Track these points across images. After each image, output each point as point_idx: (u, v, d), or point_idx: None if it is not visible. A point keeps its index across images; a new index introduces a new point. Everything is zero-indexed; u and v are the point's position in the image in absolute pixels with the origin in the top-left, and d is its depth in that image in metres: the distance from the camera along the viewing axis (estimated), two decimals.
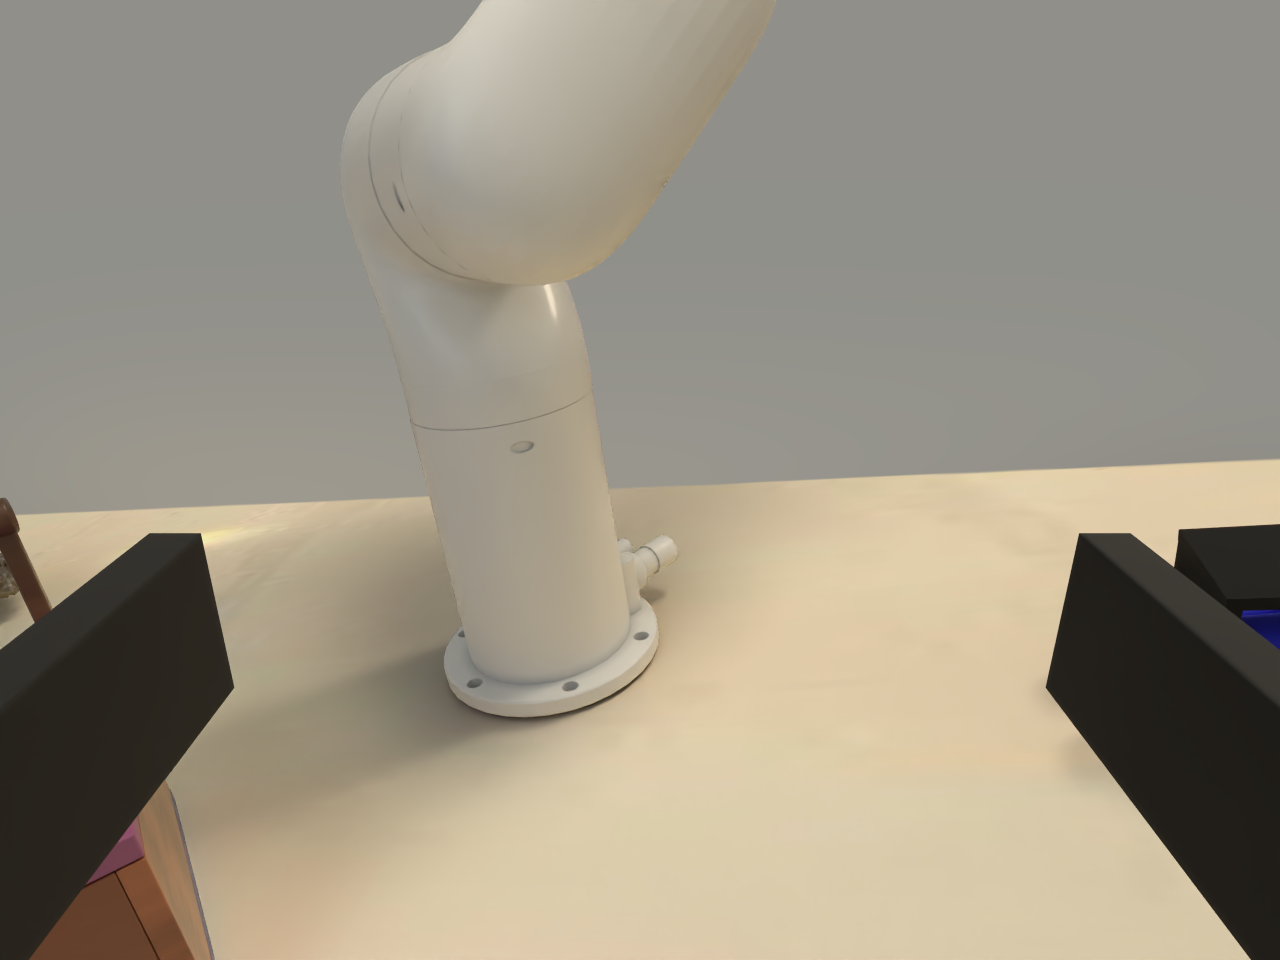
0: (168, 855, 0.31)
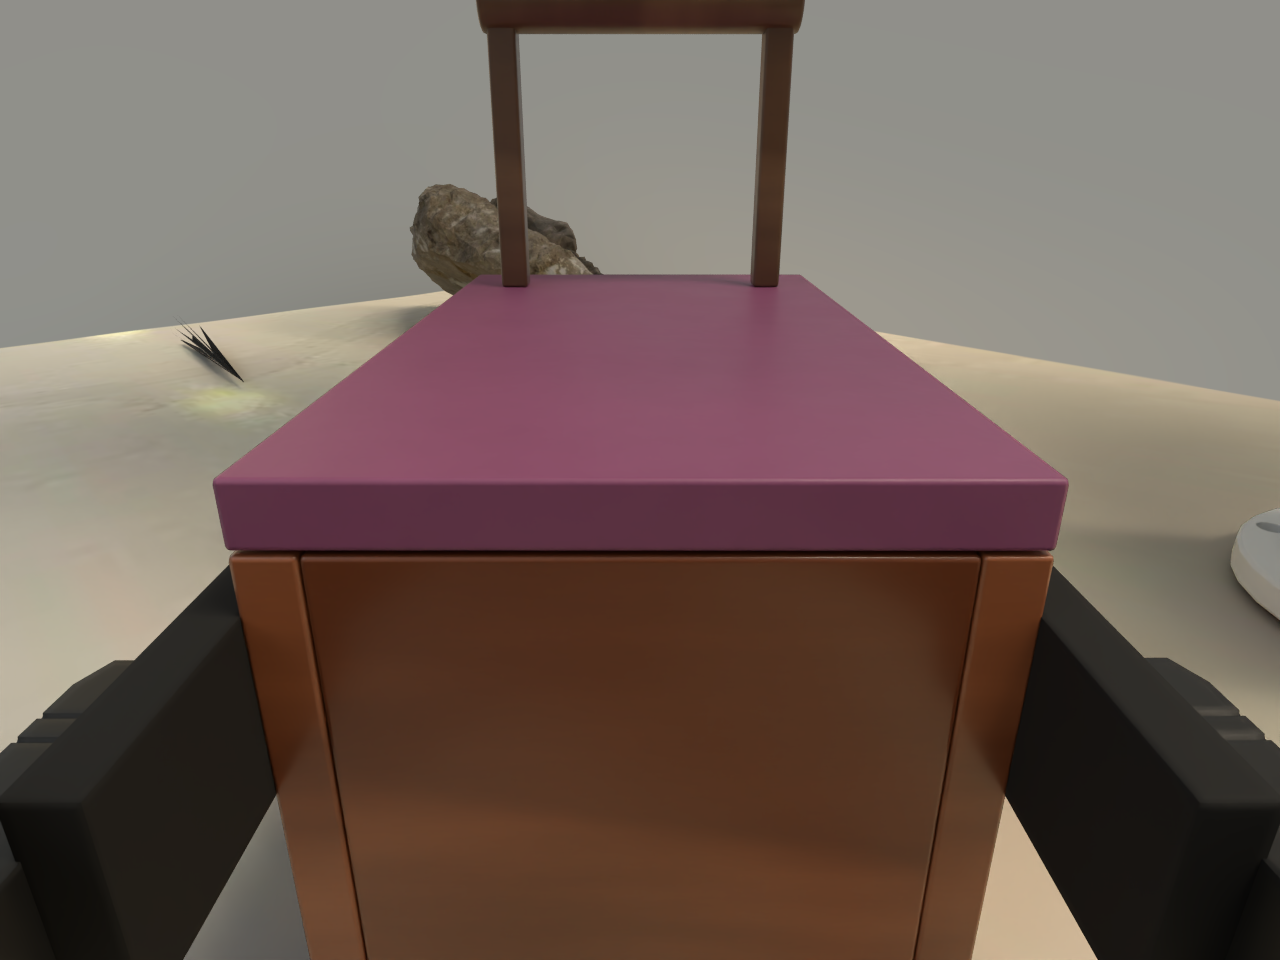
0: None
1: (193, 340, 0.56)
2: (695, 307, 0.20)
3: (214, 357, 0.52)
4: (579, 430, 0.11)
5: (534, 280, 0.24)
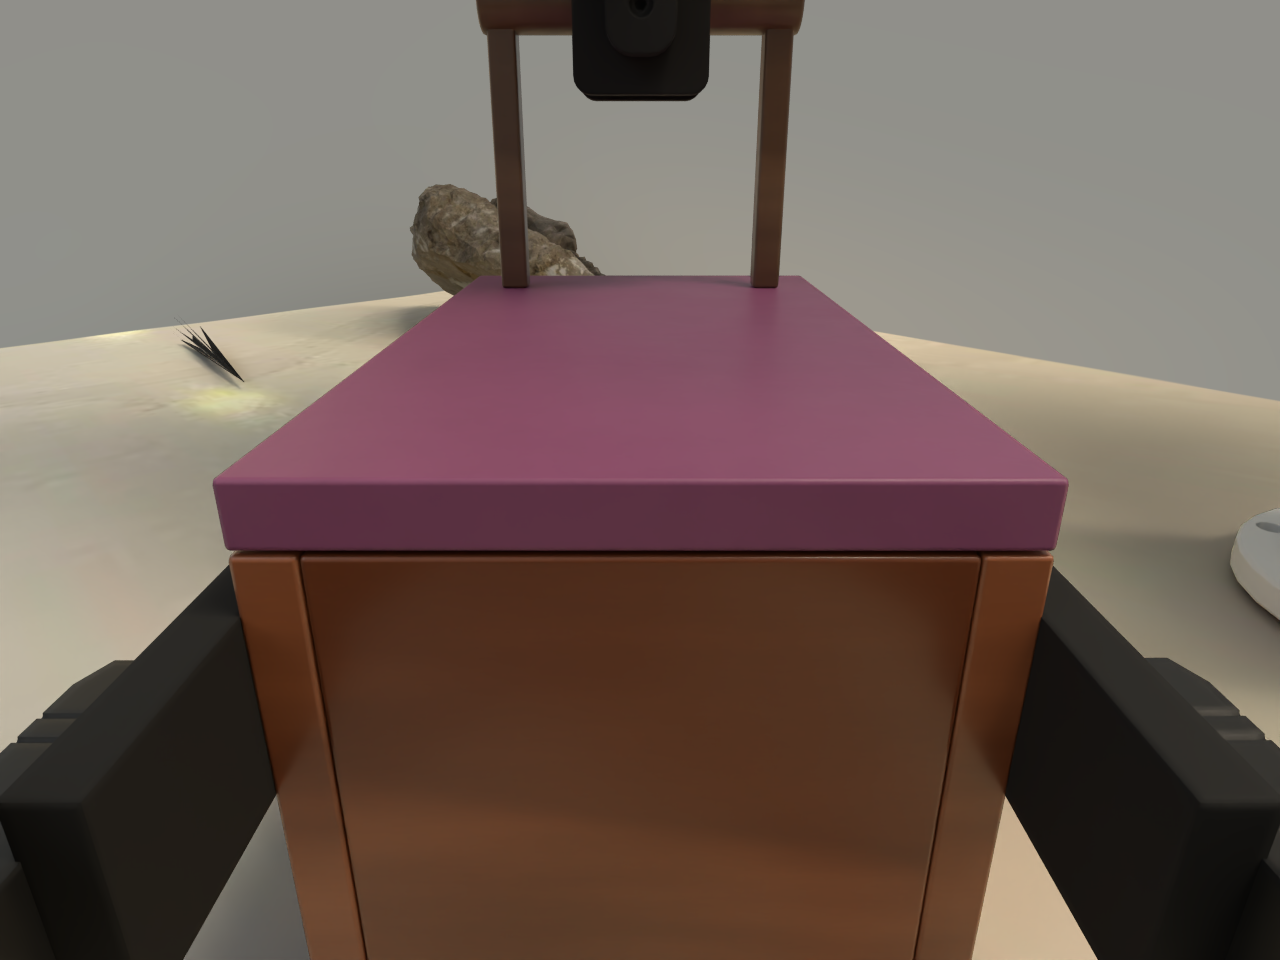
0: None
1: (193, 340, 0.56)
2: (695, 308, 0.20)
3: (214, 357, 0.52)
4: (579, 431, 0.11)
5: (534, 281, 0.24)
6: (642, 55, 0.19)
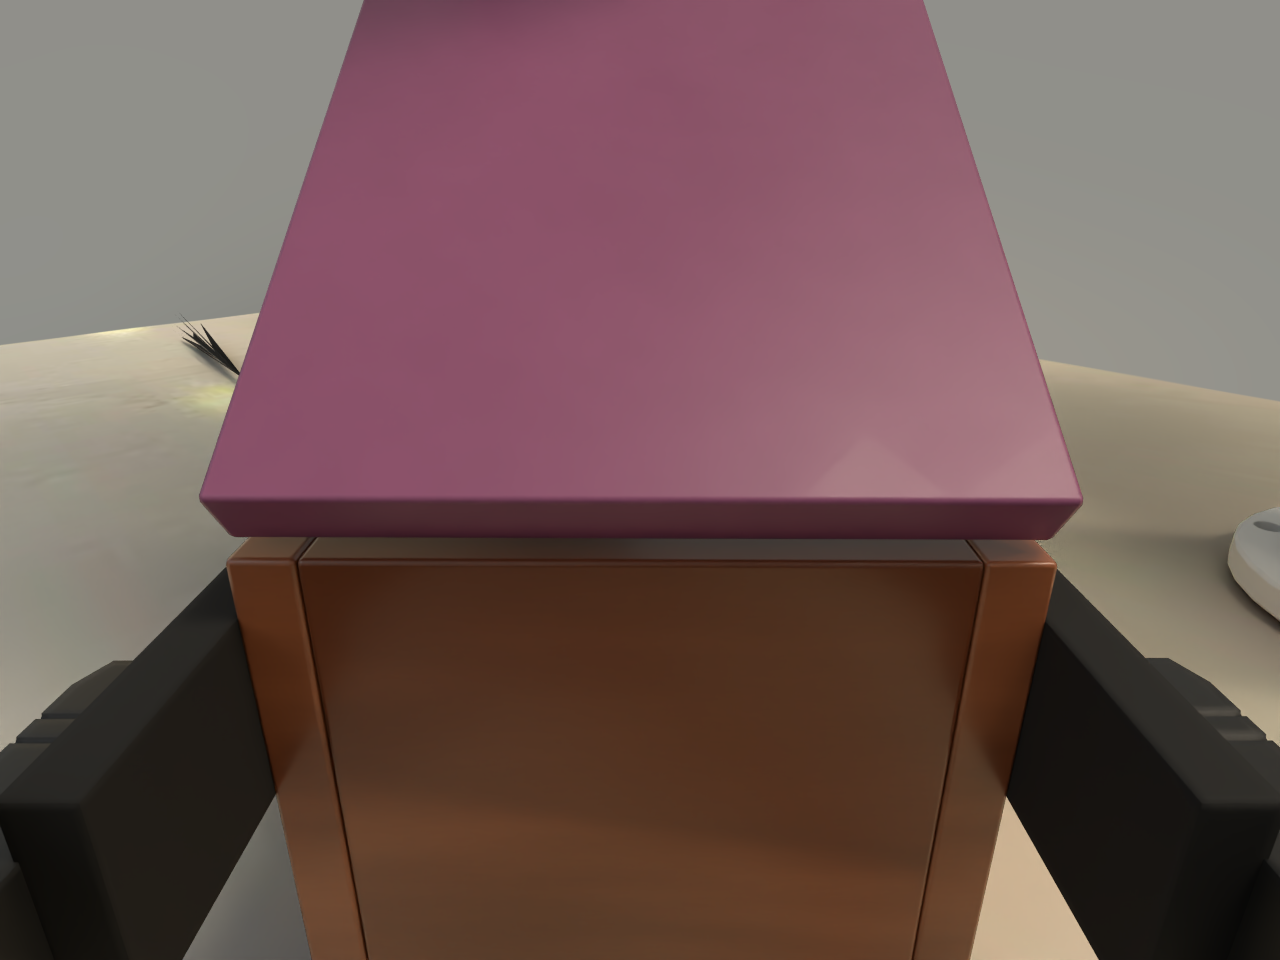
0: None
1: (194, 337, 0.56)
2: None
3: (215, 354, 0.52)
4: (573, 376, 0.10)
5: None
6: None
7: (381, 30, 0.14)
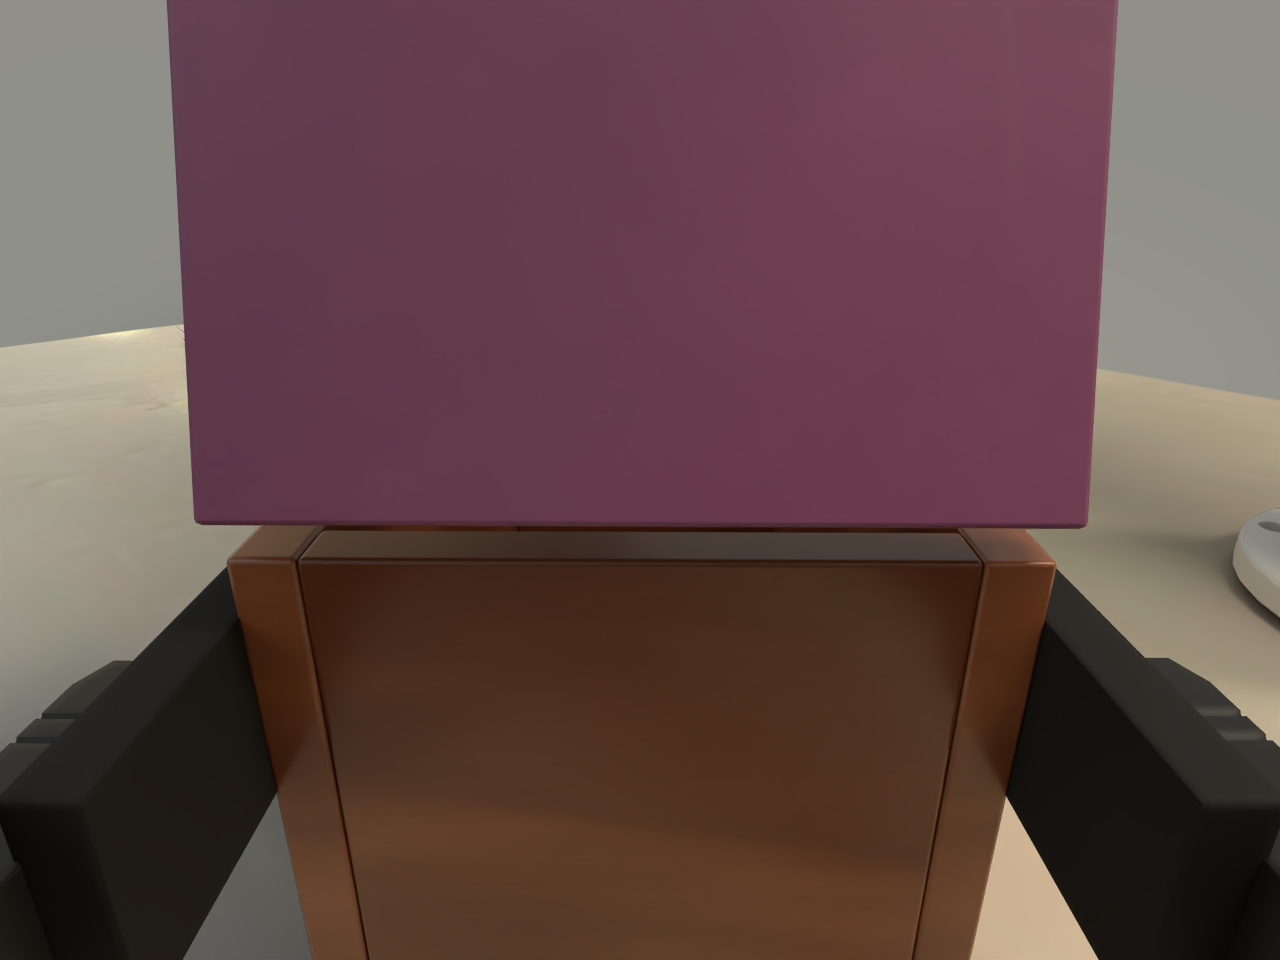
0: None
1: None
2: None
3: None
4: (563, 366, 0.09)
5: None
6: None
7: None
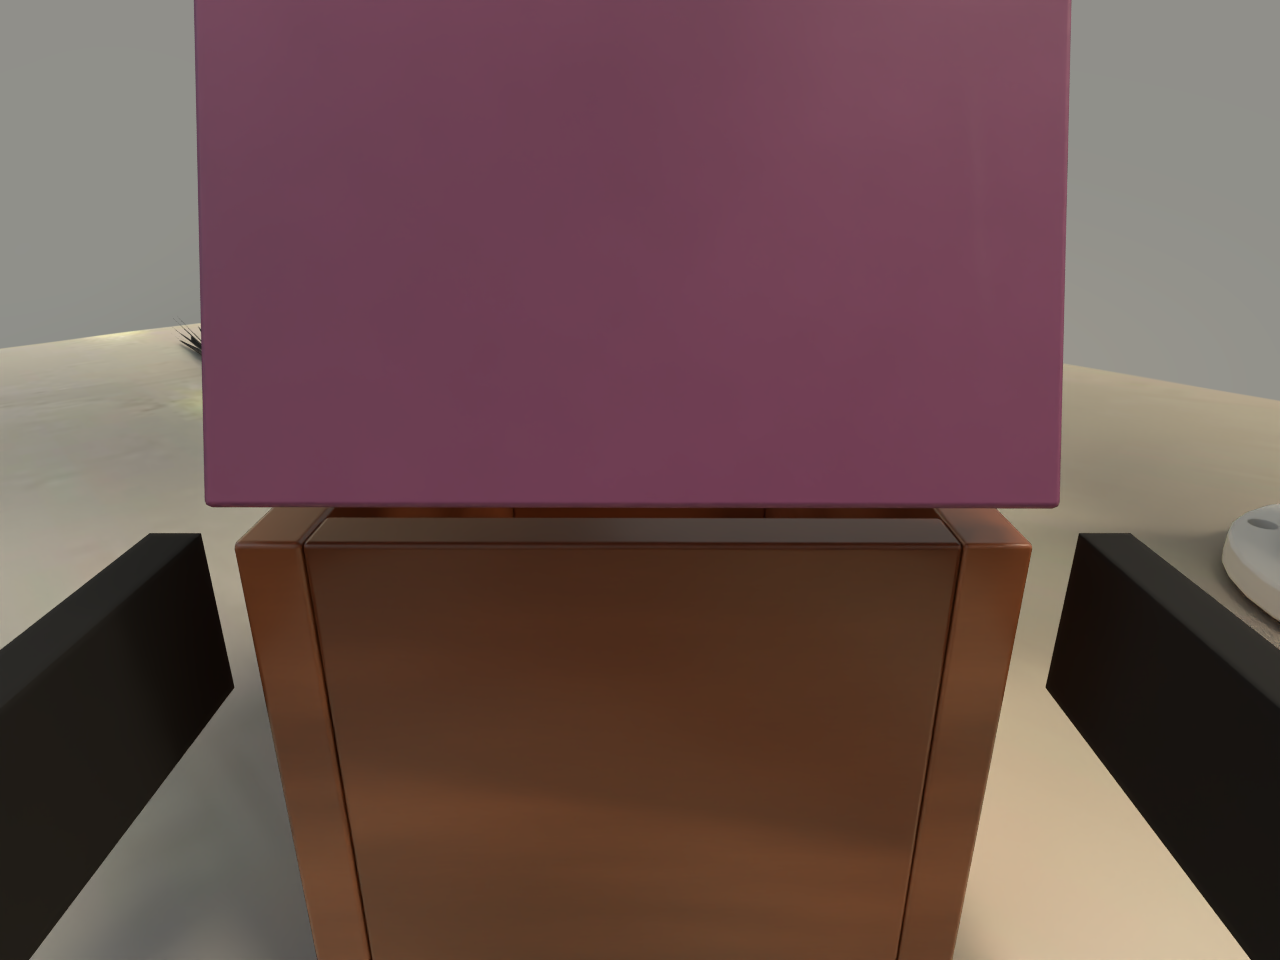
0: None
1: (192, 340, 0.56)
2: None
3: None
4: (560, 354, 0.09)
5: None
6: None
7: None
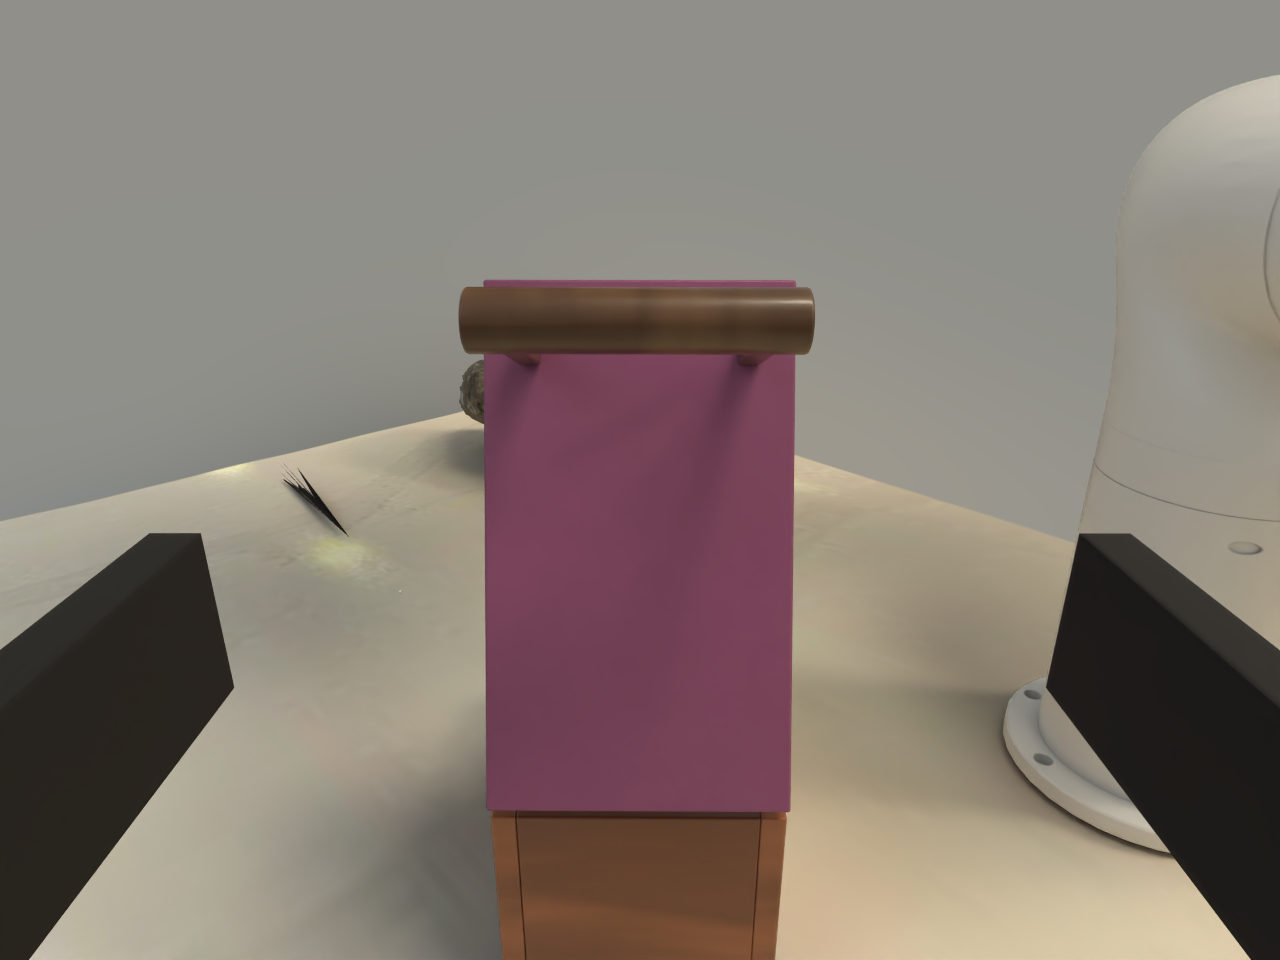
0: None
1: (299, 489, 0.73)
2: (680, 465, 0.26)
3: (320, 509, 0.69)
4: (613, 758, 0.26)
5: None
6: None
7: (500, 528, 0.26)
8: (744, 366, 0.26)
